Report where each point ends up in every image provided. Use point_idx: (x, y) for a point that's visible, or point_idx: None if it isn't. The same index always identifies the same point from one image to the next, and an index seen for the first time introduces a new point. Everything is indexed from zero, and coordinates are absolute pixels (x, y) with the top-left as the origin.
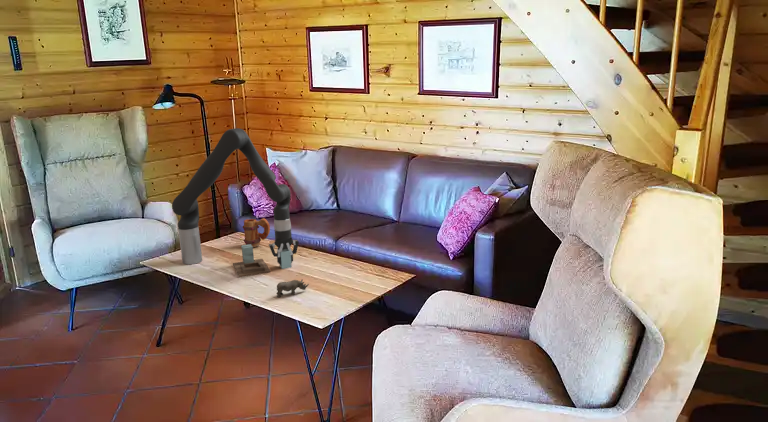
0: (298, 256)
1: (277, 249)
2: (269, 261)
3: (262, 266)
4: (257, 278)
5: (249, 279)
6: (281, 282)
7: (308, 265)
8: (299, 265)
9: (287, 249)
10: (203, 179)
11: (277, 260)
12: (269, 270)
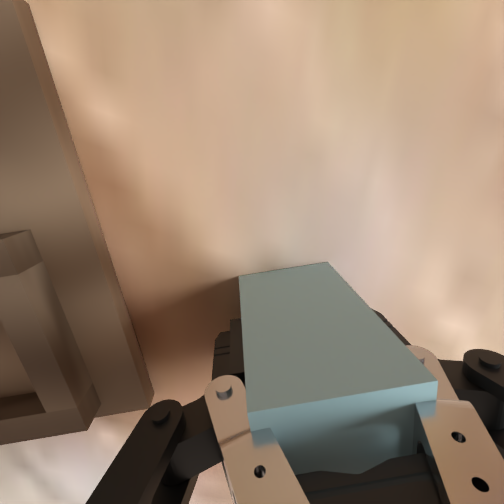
0: (483, 21)
1: (224, 461)
2: (129, 87)
3: (61, 406)
4: (63, 474)
5: (4, 479)
6: None
7: (466, 332)
8: (402, 312)
9: (407, 433)
10: None
11: (216, 361)
12: (142, 408)
